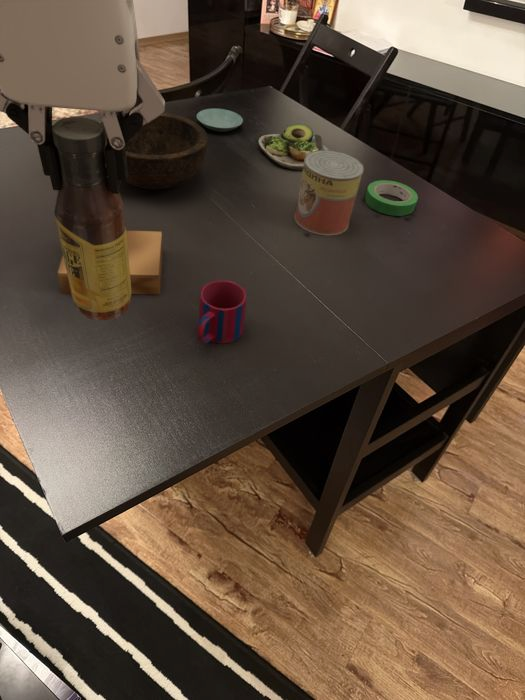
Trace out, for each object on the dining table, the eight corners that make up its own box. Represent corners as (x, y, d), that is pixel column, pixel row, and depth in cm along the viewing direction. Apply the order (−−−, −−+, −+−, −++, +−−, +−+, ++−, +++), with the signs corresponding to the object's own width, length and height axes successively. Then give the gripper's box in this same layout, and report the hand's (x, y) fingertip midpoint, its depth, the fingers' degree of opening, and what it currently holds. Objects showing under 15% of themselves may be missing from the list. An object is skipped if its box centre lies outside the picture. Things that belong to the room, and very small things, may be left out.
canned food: (283, 211, 99) (292, 154, 90) (327, 201, 103) (340, 146, 95) (314, 240, 93) (327, 182, 84) (359, 229, 97) (376, 173, 89)
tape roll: (355, 192, 107) (358, 181, 105) (396, 188, 111) (399, 177, 109) (381, 219, 101) (385, 208, 99) (423, 213, 104) (428, 202, 102)
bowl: (185, 152, 112) (185, 108, 105) (222, 199, 99) (224, 152, 92) (90, 163, 104) (83, 115, 97) (117, 215, 91) (111, 164, 84)
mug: (251, 325, 74) (255, 292, 70) (213, 364, 68) (215, 330, 63) (216, 307, 76) (218, 273, 72) (176, 343, 70) (175, 308, 65)
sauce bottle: (71, 291, 54) (30, 108, 40) (126, 283, 56) (108, 106, 42) (79, 330, 50) (38, 143, 36) (139, 320, 52) (122, 139, 38)
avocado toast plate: (350, 171, 114) (355, 152, 111) (283, 179, 108) (286, 159, 105) (312, 137, 126) (315, 118, 123) (250, 142, 120) (251, 123, 116)
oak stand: (62, 293, 75) (57, 273, 72) (74, 248, 83) (70, 228, 80) (160, 294, 77) (158, 275, 74) (162, 250, 85) (161, 231, 82)
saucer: (250, 127, 126) (251, 118, 124) (225, 140, 119) (225, 131, 117) (214, 113, 130) (214, 104, 128) (187, 126, 122) (187, 116, 121)
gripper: (182, -79, 33) (184, 170, 47) (-79, -115, 31) (1, 159, 44) (178, -63, 28) (182, 212, 42) (-134, -104, 26) (-25, 201, 39)
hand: (88, 182), depth 43 cm, fingers closed on sauce bottle, 4 cm apart
